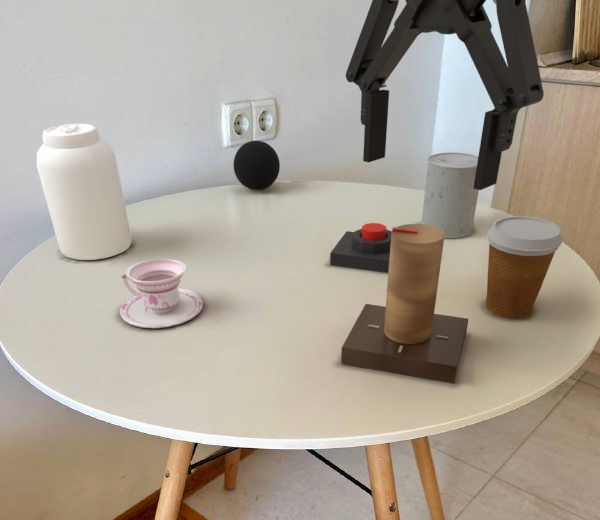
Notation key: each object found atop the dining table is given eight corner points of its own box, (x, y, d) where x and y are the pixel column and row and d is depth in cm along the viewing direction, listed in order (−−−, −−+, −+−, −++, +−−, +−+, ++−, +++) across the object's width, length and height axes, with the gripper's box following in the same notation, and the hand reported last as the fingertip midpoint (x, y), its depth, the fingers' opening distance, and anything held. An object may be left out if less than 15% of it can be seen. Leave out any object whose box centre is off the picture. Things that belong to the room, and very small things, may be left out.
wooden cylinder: (434, 324, 77) (448, 224, 69) (427, 347, 72) (440, 243, 64) (389, 317, 78) (397, 219, 70) (379, 339, 74) (386, 237, 66)
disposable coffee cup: (469, 318, 83) (484, 235, 76) (479, 289, 90) (493, 211, 83) (541, 329, 80) (563, 245, 73) (545, 299, 87) (566, 219, 80)
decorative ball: (289, 188, 131) (288, 140, 125) (255, 199, 125) (252, 150, 119) (260, 179, 137) (257, 133, 131) (226, 189, 131) (221, 141, 125)
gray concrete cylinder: (441, 215, 116) (449, 149, 108) (483, 228, 110) (495, 159, 102) (409, 228, 110) (416, 160, 103) (452, 242, 105) (462, 171, 97)
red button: (388, 234, 99) (388, 224, 98) (382, 243, 96) (383, 232, 95) (364, 231, 100) (365, 221, 99) (358, 240, 97) (359, 230, 96)
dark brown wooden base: (466, 334, 79) (469, 317, 78) (454, 383, 70) (457, 365, 69) (364, 319, 83) (365, 302, 82) (341, 364, 74) (341, 346, 73)
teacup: (207, 289, 92) (202, 251, 88) (198, 328, 82) (192, 288, 78) (129, 291, 91) (122, 254, 88) (111, 331, 82) (102, 290, 78)
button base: (413, 250, 102) (415, 228, 100) (401, 274, 95) (403, 250, 92) (346, 242, 106) (346, 221, 103) (329, 265, 98) (330, 242, 96)
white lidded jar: (55, 242, 108) (22, 124, 96) (123, 230, 112) (100, 115, 100) (67, 267, 99) (32, 141, 87) (140, 252, 103) (117, 130, 91)
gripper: (310, -97, 52) (312, 156, 65) (587, -123, 37) (518, 210, 50) (367, -94, 56) (357, 143, 69) (636, -117, 41) (561, 189, 54)
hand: (425, 172), depth 59 cm, fingers open, 13 cm apart
